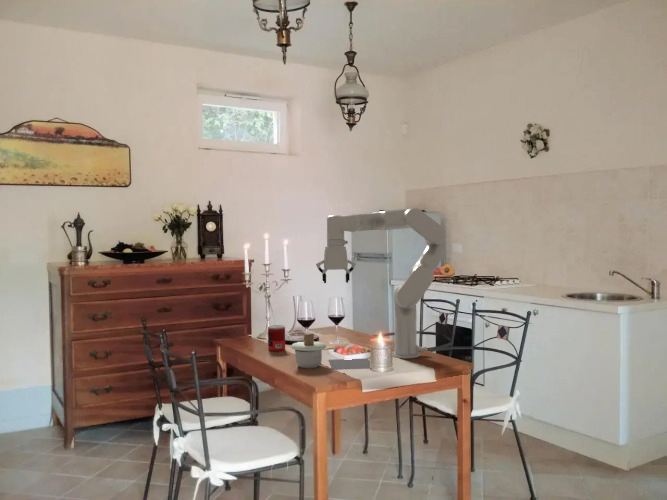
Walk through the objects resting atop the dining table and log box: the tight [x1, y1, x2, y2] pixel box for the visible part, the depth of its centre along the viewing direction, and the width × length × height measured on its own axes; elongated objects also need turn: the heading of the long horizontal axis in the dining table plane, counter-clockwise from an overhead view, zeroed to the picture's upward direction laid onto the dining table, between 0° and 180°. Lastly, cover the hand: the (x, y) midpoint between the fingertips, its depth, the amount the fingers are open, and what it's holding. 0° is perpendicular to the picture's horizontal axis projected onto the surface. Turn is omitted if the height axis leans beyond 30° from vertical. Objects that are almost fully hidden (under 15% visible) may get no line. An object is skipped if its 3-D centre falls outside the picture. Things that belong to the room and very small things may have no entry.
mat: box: [327, 357, 371, 371], centre depth 244 cm, size 17×17×1 cm
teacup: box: [294, 350, 323, 369], centre depth 241 cm, size 14×11×8 cm
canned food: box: [267, 324, 286, 353], centre depth 273 cm, size 8×8×11 cm
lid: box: [291, 332, 327, 351], centre depth 241 cm, size 14×14×6 cm
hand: (336, 282), depth 259 cm, fingers open, 9 cm apart
